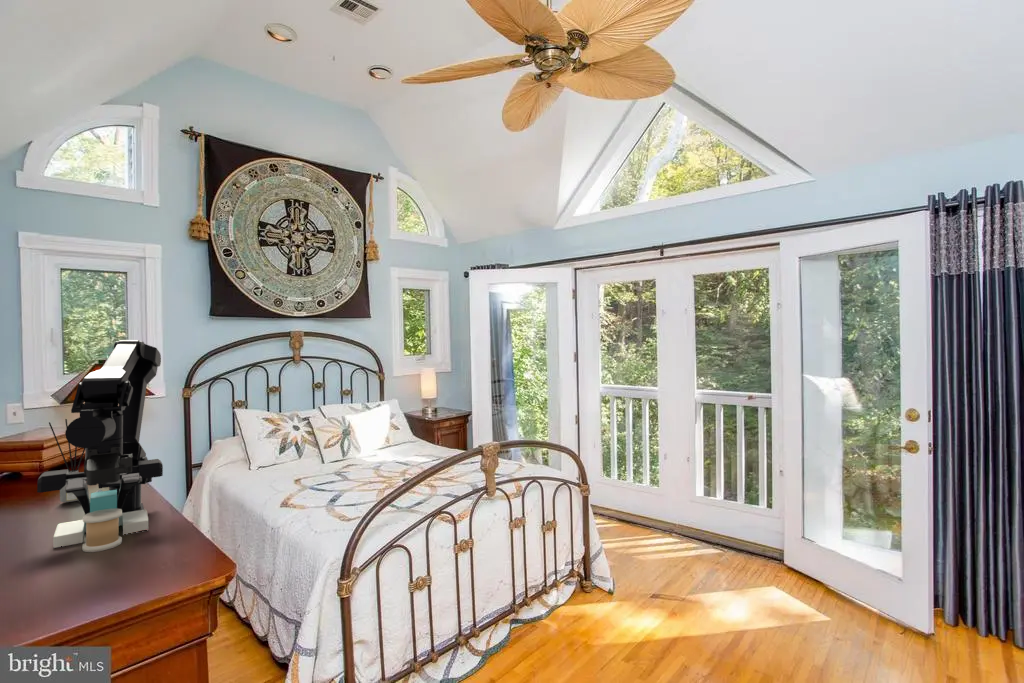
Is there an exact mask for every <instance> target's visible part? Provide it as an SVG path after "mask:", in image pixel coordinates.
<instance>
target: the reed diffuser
mask: <svg viewBox="0 0 1024 683" xmlns="http://www.w3.org/2000/svg"><path fill="white" fill-rule="evenodd" d="M48 424H49V427H50V430H51V432H52V434H53V437H54V439H55V441H56V444H57V446H58V449H59V451H60V454H61V456H62V459H63V461H64V463H65V466H66V468H67V469H68V474H71V473H79V469H80V465H81V462H82V460H83V456H84V455H85V448H83V449H82V450H83V451H82V453H81V456H80V459H79V462H78V465H77V467H76V463H77V449H78V447H75V446H74V447H75V449H74V463H73V459H72V457H73V456H72V451H71V450H72V449H71V444H70V443H69V442H68V441H67V444H68V452H69V458H70V466H71V467H69V464H68V462H67V460H66V457H65V454H64V453H63V449H62V447H61V446H60V443H59V440H58V438H57V436H56V433H55V431H54V428H53V426H52V423H51V422H48ZM68 425H69V424H68V419H67V418H65V430H66V429H67V427H68ZM73 464H74V465H73ZM70 468H71V470H70ZM66 488H67V486H64V487H63V488H62V489H61V490H59V499H60V500H59V501H60V503H69V502H76V501H79V500H78V499H77V497H76V496H75V495H74V494H73V493H65V490H66ZM102 491H103V490H102V489H97V490H96V491H95V492H102Z"/></svg>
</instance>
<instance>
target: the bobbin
mask: <svg viewBox="0 0 1024 683" xmlns="http://www.w3.org/2000/svg"><path fill="white" fill-rule="evenodd" d="M120 516H122V509H117V508H114V509H104V510H98V511H94V512H90V513H87V514H85V513H84V515H82V520H83V522H85V523H86V532H85V533H86V534H85V536H86V537H85V542H84V543H83V544H82V545H81V546H82V548H81V550H82V552H84V553H97V552H102V551H107V550H111V549H113V548H116V547H118V546H120V545H121V544H122V543H123V537H122V536H120V535H119V534H120V532H119V529H120V528H119V527H120V526H119V517H120Z"/></svg>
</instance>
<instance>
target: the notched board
mask: <svg viewBox="0 0 1024 683" xmlns="http://www.w3.org/2000/svg"><path fill="white" fill-rule="evenodd" d="M120 525H121V526H122V536H125V535H124V534H126V535H129V534H128V533H131V534H133V533H132V532H136V531H140V530H145V529H148V530H149V516H148V511H147V508H146V509H145V508H144V510H138V511H132V512H126V513H122V516H120V517H119V527H120ZM85 533H86V523H85V522H83V519H78V520H72V521H67V522H61V523H58V524H57V526H56V528H55V531H54V535H53V538H52V539H53V540H52V541H53V543H52V544H53V545H52V546H53V547H52V548H53V549H55V548H61V546H62V547H65V546H66V547H67V546H71V545H72V546H73V545H77V544H82V543H83V540H84V535H85ZM136 533H137V532H136Z"/></svg>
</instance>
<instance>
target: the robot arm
mask: <svg viewBox="0 0 1024 683" xmlns="http://www.w3.org/2000/svg"><path fill="white" fill-rule="evenodd" d="M161 355H162V354H161V352H160V351H159V349H158V347H155V346H153V345H149V344H147V343H145V342H144V341H143V340H139V339H119V340H116V341H115V342H114V344H113V350H112V351H111V353H110V355H109V356H108V358H106V361H105V362H104V364H103V365H102V367H101V368H99V369H96V370H95V371H91V372H89V373H88V374H86V376H84V377H83V379H82V381H80V382H79V383H78V386H77V388H76V392H75V396H74V400H73V402H72V407H71V409H70V412H71V414H79V417H77V418H75V419H73V420H72V421H71V422H69V424H67V425H68V427H67V429H66V428H65V434H64V435H65V439H66V440H67V443H68V442H69V443H70V445H71V446H72V447H73V446H74V447H77V449H78V448H79V449H84V448H85V451H84V455H85V456H84V457H85V458H84V461H83V462H84V463H83V471H82V472H81V471H80V472H79V473H71V474H68V469H60V470H50V471H44V472H43V473H41V475H40V476H39V477H38V479H37V485H36V486H37V487H36V488H37V490H36V492H37V493H41V494H42V493H48V492H55V491H60V490H61V489H62V488H63V487H64V486H67V488H66V490H65V493H73V494H74V495H75V496H76V497H77V499H78V500H77V501H78V502H79V503H80V506H81V508H82V511H83V512H84V515H85V514H87V513H90V493H89V487H88V486H97V485H98V486H97V487H98V490H101V489H103V488H105V489H107V488H108V491H109V490H116V489H117V509H122V513H126V512H132V511H138V510H144V509H145V508H144V503H143V502H142V485H147V484H149V483H151V482H152V481H153V478H159V477H163V476H164V475H163V473H164V472H163V471H164V468H163V466H164V465H163V463H162V461H161V460H160V459H158V458H154V459H149V458H148V457H147V456H146V455H147V453H146V451H145V449H144V448H143V446H142V445H141V443H140V436H141V430H142V421H143V415H144V406H145V401H146V400H145V399H146V393H147V388H148V387H147V386H148V385H149V383H150V382H151V381H152V380H153V379H154V378H155V377H156V376H157V373H158V367H160V366H161V363H162V356H161Z"/></svg>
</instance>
